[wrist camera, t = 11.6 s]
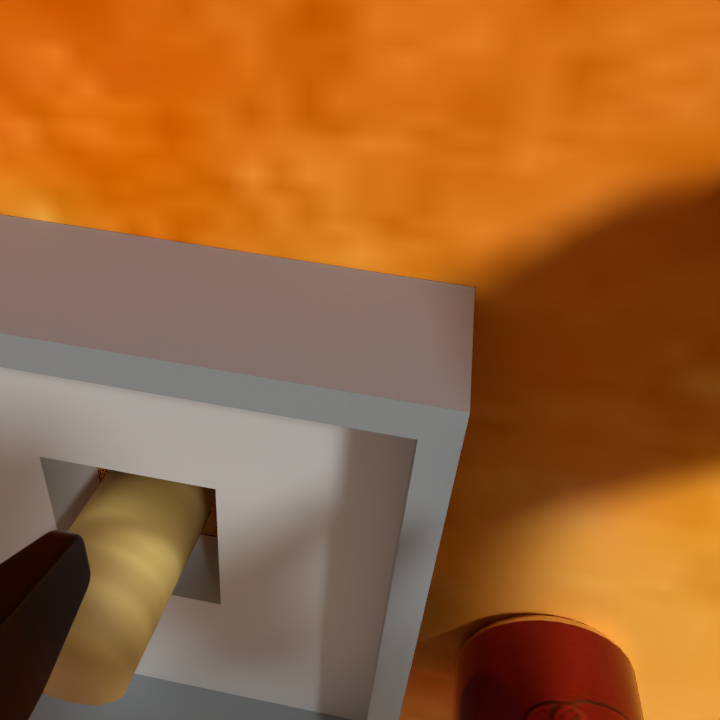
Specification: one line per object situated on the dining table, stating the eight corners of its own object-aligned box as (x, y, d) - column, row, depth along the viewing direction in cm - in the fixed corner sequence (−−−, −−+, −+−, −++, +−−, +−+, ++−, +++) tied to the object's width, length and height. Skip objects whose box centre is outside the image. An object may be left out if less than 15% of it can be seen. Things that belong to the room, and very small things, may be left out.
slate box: (474, 287, 19) (470, 412, 14) (394, 673, 30) (375, 818, 26) (-157, 190, 21) (-357, 272, 16) (-14, 589, 32) (-105, 711, 27)
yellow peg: (219, 445, 24) (119, 638, 18) (222, 520, 27) (134, 716, 20) (115, 426, 25) (-21, 608, 18) (127, 502, 27) (10, 689, 20)
